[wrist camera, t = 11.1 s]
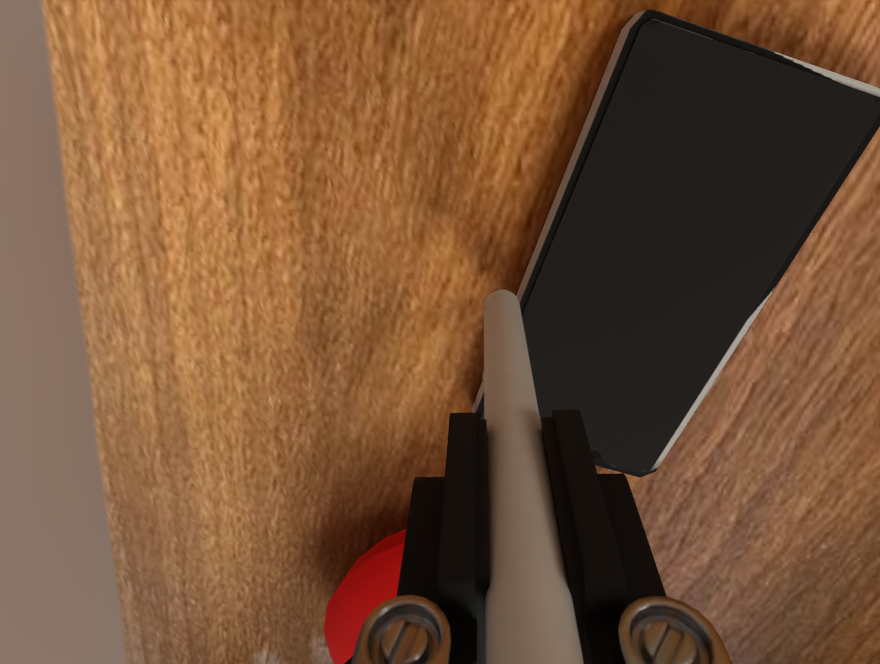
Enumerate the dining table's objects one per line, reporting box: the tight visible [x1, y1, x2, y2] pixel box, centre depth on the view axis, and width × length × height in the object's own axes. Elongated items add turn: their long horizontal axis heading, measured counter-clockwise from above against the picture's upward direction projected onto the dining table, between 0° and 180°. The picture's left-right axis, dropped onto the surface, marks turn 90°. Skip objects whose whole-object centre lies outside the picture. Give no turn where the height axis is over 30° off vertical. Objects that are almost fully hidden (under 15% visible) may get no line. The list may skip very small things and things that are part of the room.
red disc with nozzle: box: [324, 529, 406, 664], centre depth 24 cm, size 16×16×7 cm
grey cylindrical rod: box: [484, 289, 584, 664], centre depth 12 cm, size 1×1×14 cm
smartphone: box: [472, 10, 880, 477], centre depth 18 cm, size 8×1×15 cm
